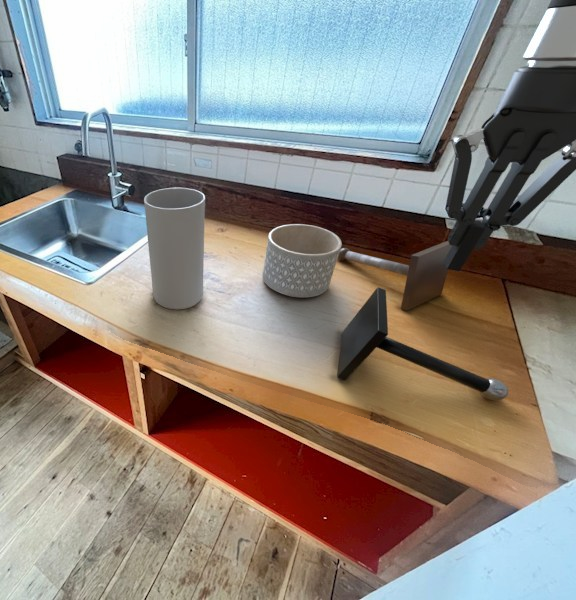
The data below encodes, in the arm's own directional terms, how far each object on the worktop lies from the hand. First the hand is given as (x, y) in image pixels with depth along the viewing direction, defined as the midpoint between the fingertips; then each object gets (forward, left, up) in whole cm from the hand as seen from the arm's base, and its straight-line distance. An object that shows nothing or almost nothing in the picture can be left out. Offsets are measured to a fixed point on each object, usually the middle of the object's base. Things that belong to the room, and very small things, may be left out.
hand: (451, 265), depth 46 cm
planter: (+31, -4, -23) cm, 38 cm away
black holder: (-3, -2, -23) cm, 23 cm away
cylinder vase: (+41, +25, -23) cm, 53 cm away
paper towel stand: (+22, -25, -23) cm, 40 cm away
